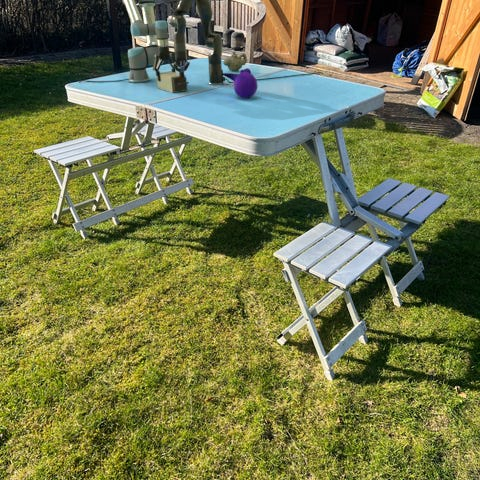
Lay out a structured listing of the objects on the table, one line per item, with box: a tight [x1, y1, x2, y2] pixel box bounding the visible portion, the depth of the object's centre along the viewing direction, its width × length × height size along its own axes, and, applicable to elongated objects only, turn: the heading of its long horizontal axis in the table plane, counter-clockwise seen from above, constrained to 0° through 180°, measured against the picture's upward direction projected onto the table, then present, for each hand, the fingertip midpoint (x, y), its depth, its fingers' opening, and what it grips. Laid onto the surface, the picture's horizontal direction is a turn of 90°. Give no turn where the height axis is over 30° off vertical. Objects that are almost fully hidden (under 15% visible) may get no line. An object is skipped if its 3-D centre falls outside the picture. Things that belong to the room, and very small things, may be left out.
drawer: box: [172, 76, 190, 93], centre depth 307 cm, size 24×10×8 cm, turn 38°
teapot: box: [222, 51, 248, 73], centre depth 364 cm, size 21×12×15 cm, turn 120°
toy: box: [222, 67, 258, 99], centre depth 286 cm, size 16×18×27 cm
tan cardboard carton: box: [156, 70, 186, 93], centre depth 310 cm, size 20×11×10 cm, turn 38°
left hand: (166, 79), depth 315 cm, fingers closed on tan cardboard carton, 11 cm apart
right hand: (182, 77), depth 298 cm, fingers closed
